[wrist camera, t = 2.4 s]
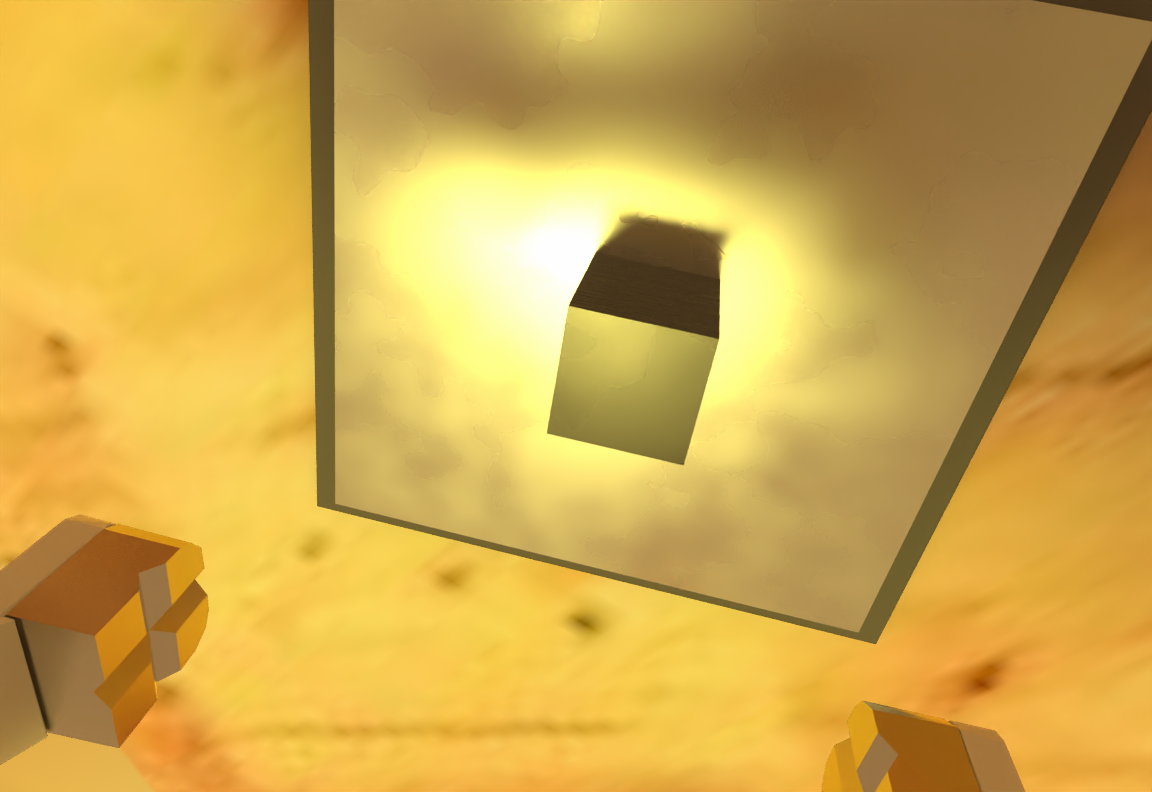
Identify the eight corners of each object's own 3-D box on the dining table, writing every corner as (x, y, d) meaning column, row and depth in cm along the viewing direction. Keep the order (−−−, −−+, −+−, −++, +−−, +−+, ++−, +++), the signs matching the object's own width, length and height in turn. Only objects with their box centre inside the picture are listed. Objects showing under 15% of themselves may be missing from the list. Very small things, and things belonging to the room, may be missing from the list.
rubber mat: (1207, -27, 14) (1223, -28, 14) (873, 631, 23) (875, 644, 23) (316, -182, 16) (305, -187, 15) (324, 497, 24) (317, 505, 24)
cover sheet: (1138, 21, 14) (1284, 29, 11) (854, 613, 22) (880, 737, 18) (351, -120, 15) (232, -157, 12) (346, 488, 23) (275, 581, 20)
